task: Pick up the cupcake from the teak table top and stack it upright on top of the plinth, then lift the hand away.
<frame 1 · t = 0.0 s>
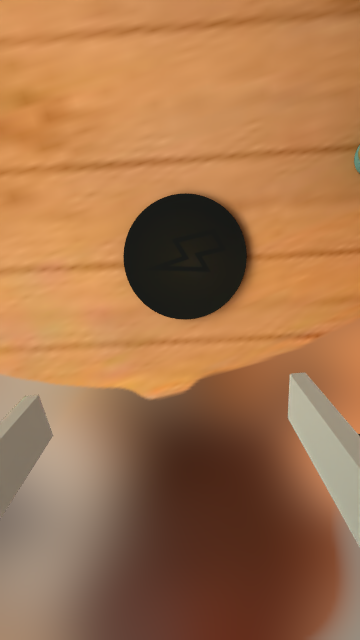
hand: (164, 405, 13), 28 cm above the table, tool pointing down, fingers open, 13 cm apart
wireless charger: (184, 259, 39), on the table
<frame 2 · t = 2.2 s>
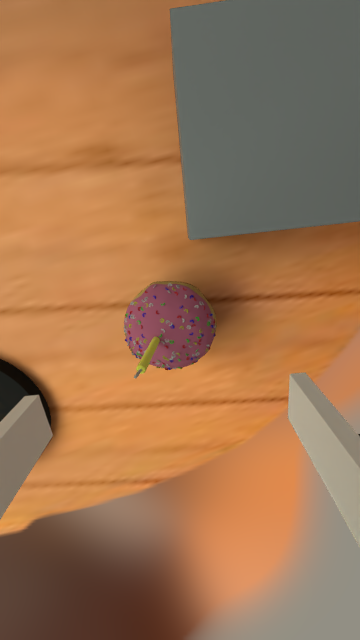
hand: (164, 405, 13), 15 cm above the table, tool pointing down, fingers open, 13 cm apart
cupcake: (171, 310, 28), on the table
plinth: (254, 152, 22), on the table
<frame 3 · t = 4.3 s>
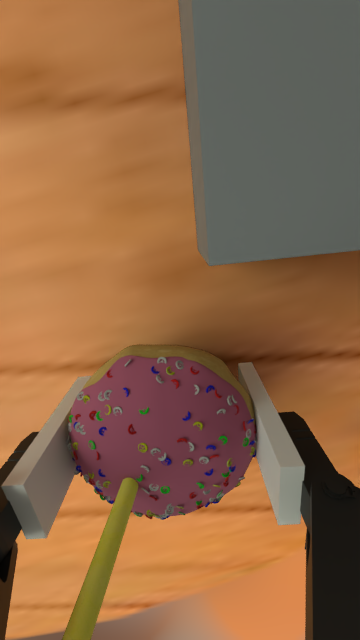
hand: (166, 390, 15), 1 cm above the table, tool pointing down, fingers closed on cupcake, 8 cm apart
cupcake: (168, 375, 16), on the table, touching gripper
plinth: (337, 76, 11), on the table
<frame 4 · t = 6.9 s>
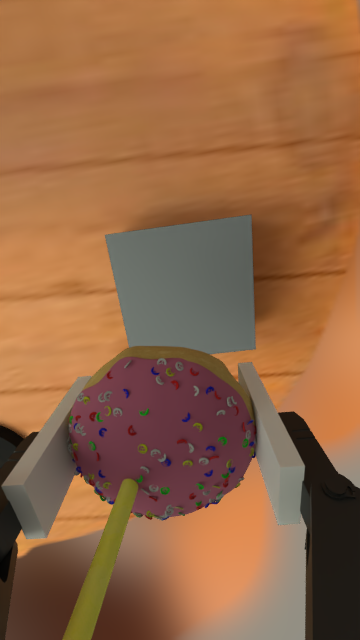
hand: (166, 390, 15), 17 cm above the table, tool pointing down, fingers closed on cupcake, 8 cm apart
cupcake: (168, 376, 16), point 16 cm above the table, touching gripper
plinth: (185, 283, 30), on the table
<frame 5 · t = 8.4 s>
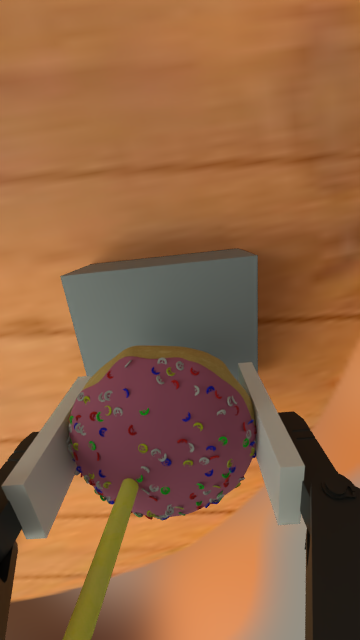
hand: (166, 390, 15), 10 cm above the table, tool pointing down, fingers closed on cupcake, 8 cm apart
cupcake: (168, 375, 16), point 9 cm above the table, touching gripper
plinth: (172, 325, 24), on the table
when the fingers open (9 cm above the table, at t = 9.6 s): cupcake drops 1 cm, resting on plinth.
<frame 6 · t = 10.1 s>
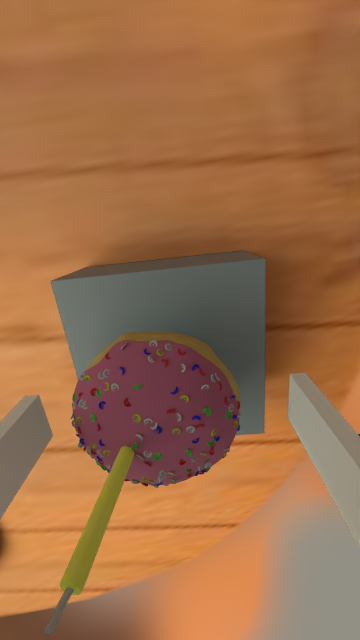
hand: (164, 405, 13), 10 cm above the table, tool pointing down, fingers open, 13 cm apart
cupcake: (164, 364, 17), point 6 cm above the table, touching plinth
plinth: (172, 331, 23), on the table
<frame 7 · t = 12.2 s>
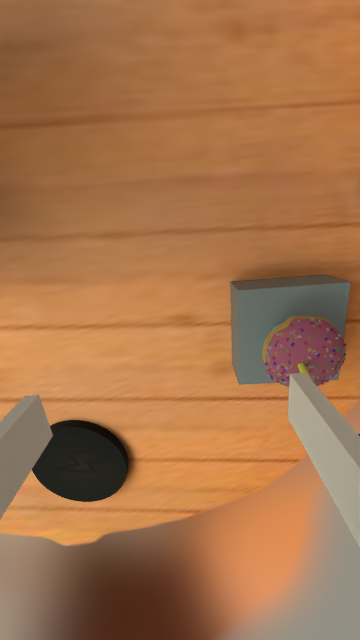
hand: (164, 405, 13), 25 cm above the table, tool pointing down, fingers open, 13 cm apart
cupcake: (287, 336, 32), point 6 cm above the table, touching plinth
wireless charger: (82, 456, 48), on the table
plinth: (275, 321, 38), on the table
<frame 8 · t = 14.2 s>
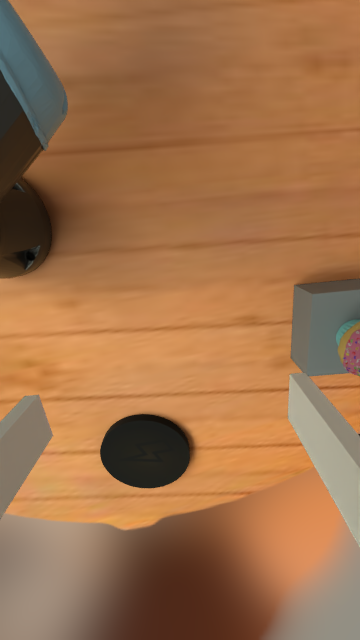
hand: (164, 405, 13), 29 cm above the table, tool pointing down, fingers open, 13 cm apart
cupcake: (352, 333, 36), point 6 cm above the table, touching plinth
wireless charger: (146, 447, 52), on the table
plinth: (332, 319, 42), on the table
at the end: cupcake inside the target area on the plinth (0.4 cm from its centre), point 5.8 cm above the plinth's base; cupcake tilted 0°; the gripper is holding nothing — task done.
